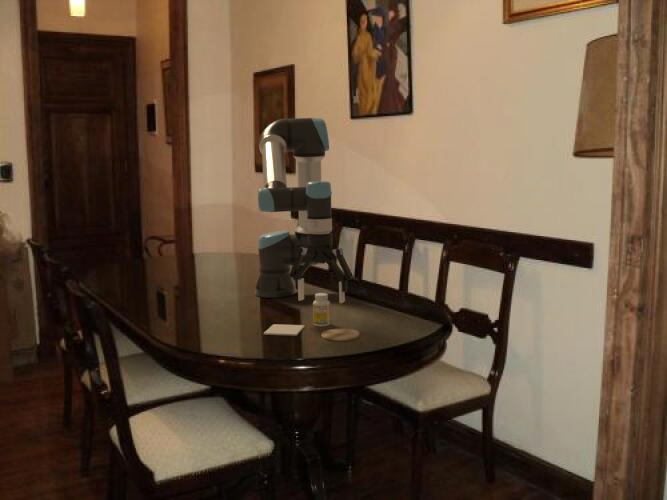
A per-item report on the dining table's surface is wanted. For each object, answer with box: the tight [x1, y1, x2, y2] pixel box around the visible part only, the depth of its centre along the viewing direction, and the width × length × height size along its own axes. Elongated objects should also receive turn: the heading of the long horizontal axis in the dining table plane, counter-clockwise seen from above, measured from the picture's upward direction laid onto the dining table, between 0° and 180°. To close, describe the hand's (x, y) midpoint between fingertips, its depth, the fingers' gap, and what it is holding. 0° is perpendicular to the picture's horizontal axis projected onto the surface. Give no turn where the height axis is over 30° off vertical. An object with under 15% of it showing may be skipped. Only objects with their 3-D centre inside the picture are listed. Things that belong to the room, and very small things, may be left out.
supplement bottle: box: [312, 292, 331, 328], centre depth 214 cm, size 5×5×10 cm
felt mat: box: [263, 323, 306, 337], centre depth 208 cm, size 10×10×1 cm
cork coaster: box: [321, 328, 360, 342], centre depth 202 cm, size 11×11×1 cm
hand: (321, 301), depth 213 cm, fingers open, 13 cm apart
